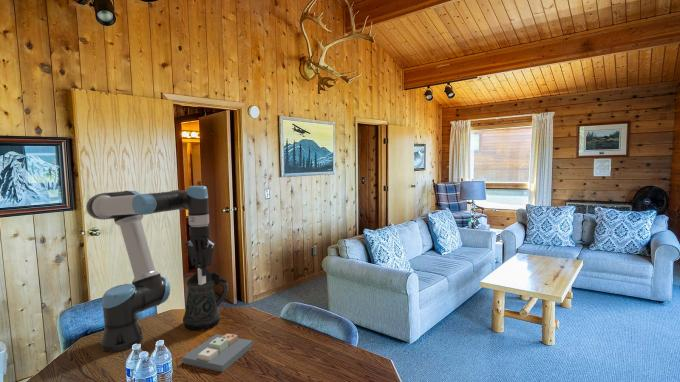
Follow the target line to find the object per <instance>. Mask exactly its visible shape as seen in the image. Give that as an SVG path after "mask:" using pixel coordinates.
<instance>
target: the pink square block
mask: <svg viewBox="0 0 680 382" xmlns="http://www.w3.org/2000/svg"><path fill="white" fill-rule="evenodd" d="M221 338H224V339H228V345H229V346H230V345H232V344H233V343H234V342H236V341H237V340H238V338H239V337H238V334H234V333H227V332H226V334H224V335H223V337H221Z"/></svg>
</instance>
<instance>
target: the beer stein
mask: <svg viewBox="0 0 680 382" xmlns="http://www.w3.org/2000/svg"><path fill="white" fill-rule="evenodd" d="M186 285H187V287H188V290H187V295H186V297H187V299H186V307H185V311H184V315H183V317H182V323H183V327H184V328H183V329H185V330H187V331H190V332H201V331H207V330H210V329H213V328H215V327H217V326H218V325H219V324H220V321H221V311H220V310H219V307H218V306H219V305H220V304H221V303H222V302H223V301H224V300H225V298H226V296H227V294H228V292H229V284H228V280H226V279H225V278H224V277H220V274H219V273H218V272H212V271H209V269H207V275H206V283H205V284H202V285H198V276H197V270H196V271H195V273H193V275H192V276H190V277H189V278H188V279H187V281H186ZM218 285H220V286H222V289H223V290H222V292H221V293H220V295H219V296H218V298H217V299H216V292H215V286H218Z"/></svg>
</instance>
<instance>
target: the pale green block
mask: <svg viewBox="0 0 680 382" xmlns="http://www.w3.org/2000/svg"><path fill="white" fill-rule="evenodd" d="M209 348H213V349H218V353H221V352H223V351H224V350H225V349H227V348H228V339H224V338H219V337H217V338H216V339H214V340H213V341H211V342H210V343H209Z"/></svg>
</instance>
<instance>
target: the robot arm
mask: <svg viewBox="0 0 680 382" xmlns="http://www.w3.org/2000/svg"><path fill="white" fill-rule="evenodd" d="M208 193H209V191H208V188H207V186H205V185H190V186H188V187H187V188H186V190H180V189H176V190H175V189H174V190H169V191H163V192H152V193H150V192H149V193H140V192H138V191H136V190H124V191H112V192H101V193H98V194H95V195H93V196H91V197H90V198H89V199H88V201H87V202H86V206H85V207H86V212H87V214H88V215H89V216H90V217H92V218H93V219H96V220H111V219H112V220H113V221H114V223H115V225H116V226H119V228H120V231H121V235H122V238H123V241H124V246H125V249H126V252H127V257H128V260H129V264H130V267H131V270H132V273H133V277H134V278H133V279H132V281H131V283H123V284H119V285H116V286H114V287H111V288H109V289H107V290H106V291H105V292H104V294H103V295H102V311H103V313H102V314H103V323H104V324H103V325H104V331H103V333H102V334H103V335H102V338H101V341H100V349H101V348H102V349H103V350H105V351H104V352H106V351H116V352H121V351H120V350H122V351H125V350H124V349H126V350H128V349H127V348H129V349H131V348H132V347H131V346H132V345H133V344H135V343H139V344H141V342H142V341H143V340H144V334H143V333H144V332H143V331H142V328H141V327H140V325H139V323H138V317H137V316H138V314H139V313H141V312H144V311H148V310H149V309H152V308H154V307H159V306H160V305H162V304H164V303H165V302H166V301H168V299H169V298H170V294H171V286H170V282H169V280H168V279H167V277H164V276H161V272H159V271H157V270H156V268H155V265H154V262H153V261H154V260H153V258H152V255H151V252H150V248H149V247H150V246H149V245H148V240H147V237H146V234H145V230H144V227H143V223H142V220H143V219H144V215H146V216H147V215H152V214H157V213H163V212H171V211H178V210H187V211H188V213H187V215H188V225H189V227H188V230H189V235H188V236H190V238H189V240H188V241H186V242H185V246H186V248H187V252H188V255H189V259H190V263H191V266H192V267H195V269H196V271H197V276H198V285H202V284H205V283H206V275H207V270H208V269H207V268H208V267H210V266H211V265H212V261H213V255H214V248H215V246H216V243H215V242H212V241H211V239H210V237H209V236H210V233H211V231H210V213H209V212H210V211H209V194H208ZM142 339H143V340H142ZM102 349H101V350H102ZM103 350H102V351H103Z"/></svg>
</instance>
